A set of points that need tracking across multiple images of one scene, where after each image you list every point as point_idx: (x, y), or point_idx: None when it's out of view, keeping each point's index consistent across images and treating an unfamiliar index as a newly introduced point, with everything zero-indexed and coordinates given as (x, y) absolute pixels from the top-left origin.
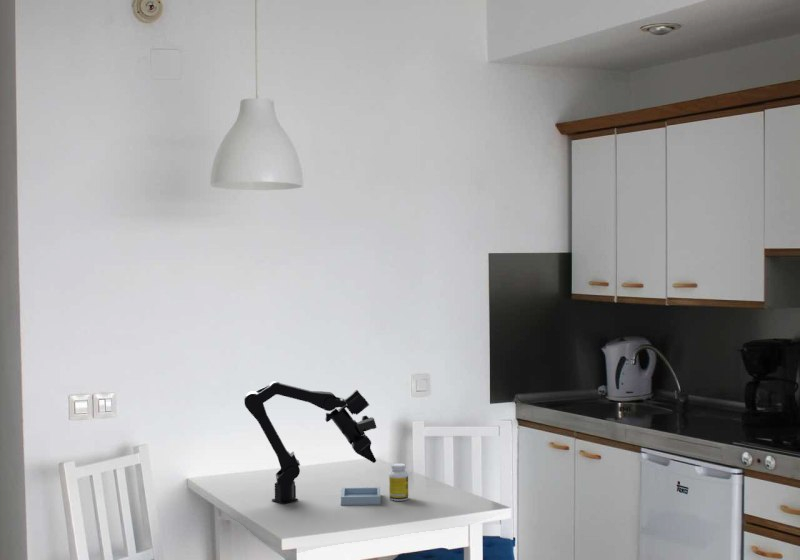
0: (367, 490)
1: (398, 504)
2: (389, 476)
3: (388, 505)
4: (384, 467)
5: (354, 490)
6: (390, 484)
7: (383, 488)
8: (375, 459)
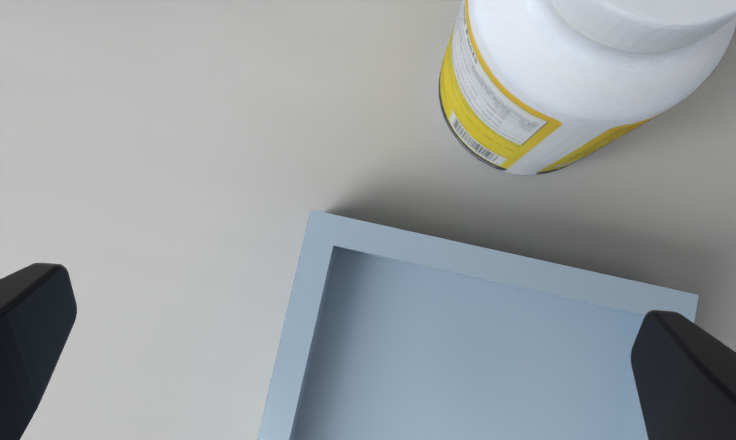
0: (313, 341)
1: (696, 141)
2: (614, 125)
3: (710, 232)
4: None
5: None
6: (605, 142)
7: (87, 130)
8: (711, 338)
